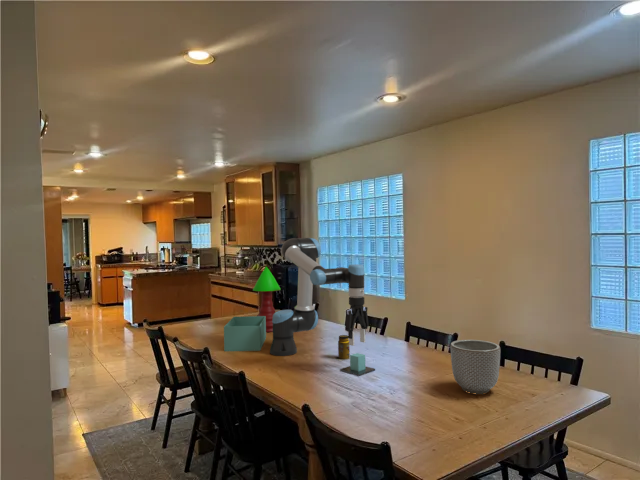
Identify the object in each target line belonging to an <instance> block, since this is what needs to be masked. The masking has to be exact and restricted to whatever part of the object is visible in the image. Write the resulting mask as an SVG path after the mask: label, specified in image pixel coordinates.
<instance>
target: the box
mask: <svg viewBox="0 0 640 480" xmlns="http://www.w3.org/2000/svg"><path fill="white" fill-rule="evenodd" d="M266 338H267V332H266V316H257V315H256V316H255V315H254V316H253V315H249V316H246V315H245V316H233V317H232V318H231V319H230V320H229V321H227V323H226V324H225V325H224V326H223V344H224V346H223V349H224V350H223V351H224V352H256V351H257V352H258V351H261V350H262V348H263V345H264V344H265V341H266Z"/></svg>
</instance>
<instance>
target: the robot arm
mask: <svg viewBox="0 0 640 480" xmlns="http://www.w3.org/2000/svg"><path fill="white" fill-rule="evenodd" d="M321 253H322V248H321V244H320V243H319V240H317V239H316V238H314V237H313V238H312V237H302V238H301V237H299V238H298V237H297V238H296V237H293V238H289V239H287V240H285V241H284V243H283V244H282V246H281V255H282V257H283V258H284V259H285V260H286V261H287V262H289V263H292V264H294V265H296V266H297V269H298V272H297V274H298V275H297V297H296V299H297V300H296V301H297V303H296V305H295V306H294V307H293V308H294V310H292V309H282V310H278V311H275V313H274V314H273V320H272V322H273V332H272V342H271V345H270V348H269V354H271V356H276V357H277V356H280V357H283V356H287V357H288V356H292V355H295V354H297V352H298V349H297V345H296V341H295V339H294V334H295V333H301V332H308V331H311V330H314V329H315V328H317V325H318V323H319V316H318V312H317V310H315V306H313V290H314V289H313V287H314V286H323V285H332V284H333V285H335V284H348V296H349V297H348V305H349V306H350V307H349V309H346V310H345V324H344V325H345V326H344V331H346V332H348V335H347V336H348V338H349V346H352V347H353V346H355V331H354V328H355V323H356V320H357V319H358V321H359V325H360V328H359V342H360V343H363V344H364V343H366V334H367V332H366V330H367V329H368V328H369V326H370V325H369V317H368V309H369V308H368V307H367V306H364V305H365V297H364V296H365V270H364V269H365V268H364V265H363V264H356V263H355V264H349V265H348V267H344V266H341V267H339V266H338V267H335V268H325V267H324V266H322V265H320V263H318V262H317V259H318V258H320V256H321Z"/></svg>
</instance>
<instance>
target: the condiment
mask: <svg viewBox="0 0 640 480" xmlns="http://www.w3.org/2000/svg"><path fill="white" fill-rule="evenodd" d="M337 342H338V343H337V345H338V347H337V352H338V354H337V355H338V356H334V357H332V359H334V360H336V361H340V362H342V361H347V360H348V361H349V360H350V355H351V353H350V345H349V338H348V335H347V334H342V335H338V341H337Z"/></svg>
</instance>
